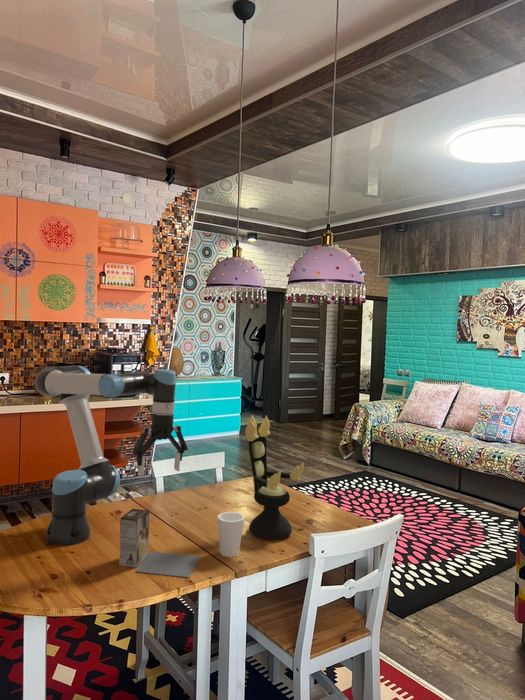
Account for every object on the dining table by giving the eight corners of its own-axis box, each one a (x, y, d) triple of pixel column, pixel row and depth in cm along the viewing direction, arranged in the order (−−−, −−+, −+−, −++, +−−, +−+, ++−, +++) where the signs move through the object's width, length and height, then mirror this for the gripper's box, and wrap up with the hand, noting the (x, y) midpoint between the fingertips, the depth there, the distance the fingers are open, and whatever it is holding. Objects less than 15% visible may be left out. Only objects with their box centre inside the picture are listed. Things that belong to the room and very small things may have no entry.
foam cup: (210, 552, 183) (212, 515, 182) (230, 545, 189) (232, 510, 189) (228, 561, 176) (229, 523, 175) (248, 554, 182) (249, 517, 182)
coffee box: (131, 553, 178) (132, 507, 178) (148, 556, 177) (150, 510, 176) (118, 565, 169) (120, 517, 169) (136, 568, 168) (138, 519, 167)
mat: (135, 572, 165) (135, 571, 165) (151, 552, 180) (151, 551, 180) (189, 577, 163) (189, 577, 163) (200, 557, 178) (200, 556, 178)
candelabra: (277, 547, 189) (282, 424, 187) (227, 532, 201) (232, 416, 199) (301, 531, 205) (307, 418, 203) (254, 518, 217) (259, 411, 215)
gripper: (133, 417, 173) (129, 479, 175) (199, 413, 188) (195, 471, 189) (125, 412, 180) (121, 473, 181) (189, 409, 194) (185, 465, 195)
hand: (159, 472), depth 185 cm, fingers open, 13 cm apart
